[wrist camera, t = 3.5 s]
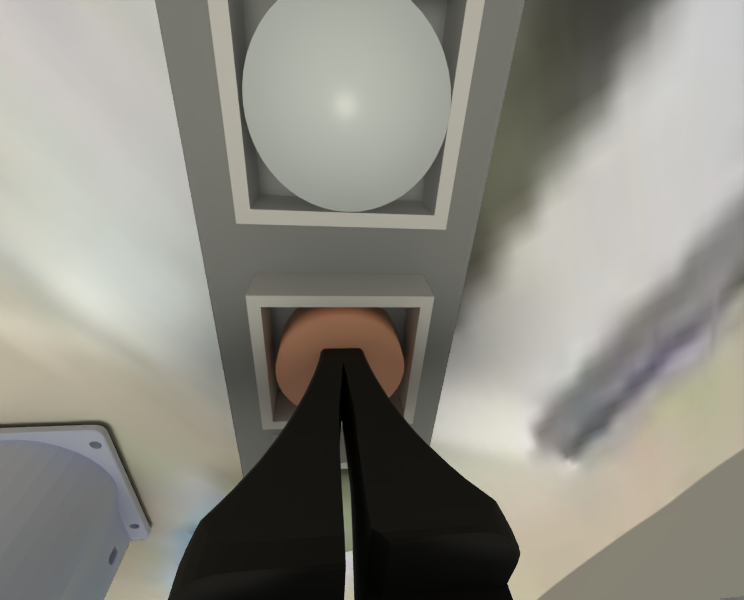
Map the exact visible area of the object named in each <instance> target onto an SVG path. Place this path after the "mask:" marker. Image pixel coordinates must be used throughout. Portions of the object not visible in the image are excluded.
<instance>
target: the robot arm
mask: <svg viewBox="0 0 744 600" xmlns="http://www.w3.org/2000/svg"><path fill="white" fill-rule="evenodd" d="M341 422H342V427H343V435H344V443H345V451H346V459H347V466H348V474H349V482H350V493H351V515H352V542H353V570H354V600H513V599H512V596H511V593H510V590H509V588H508V585H507V583H508V581H509V579H510V577H511V575H512V573H513V571H514V569H515V567H516V565H517V563H518V560H519V557H520V550H519V546H518V544H517V541H516V539H515V536H514V534H513V532H512V530H511V528H510V526H509V524H508V522H507V520H506V518H505V516H504V515H503V513H502V511H501V509H500V508H499V506H498V504H497V502H496V501H495V500H494V499H492V498H491V497H490V496H488V495H487V494H486V493H484V492H483V491H481V490H480V489H479V488H477V487H476V486H475V485H473V484H472V483H471V482H469V481H468V480H467V479H465V478H464V477H463V476H462V475H460V474H459V473H458V472H457V471H456V470H455V469H453V468H452V467H451V466H450V465H449V464H448V463H447V462H446V461H445V460H443V459H442V458H441V457H440V456H439V455H438V454H437V453H436V452H435V451H434V450H433V449H432V448H431V447H430V446H429V445H428V444H427V443H426V442H425V441H424V440H423V439H422V438H421V437H420V436H419V435H418V434H417V433H416V432H415V430H414V429H413V428H412V427H411V426H410V425H409V423H408V422H407V421H406V420H405V419H404V417H403V416H402V415H401V414H400V412H399V411H398V410H397V408H396V407H395V406H394V404H393V403H392V401H391V400H390V399H389V397H388V396H387V394H386V393H385V391H384V390H383V388H382V386H381V385H380V383H379V382H378V380H377V378H376V377H375V375H374V373H373V371H372V369H371V367H370V365H369V363H368V361H367V359H366V357H365V355H364V352H363V350H362V349H361V348H326V349H323V350H322V351H321V353H320V358H319V361H318V364H317V367H316V370H315V372H314V375H313V377H312V379H311V381H310V383H309V386H308V388H307V390H306V392H305V394H304V396H303V397H302V399H301V401H300V403H299V404H298V406H297V408H296V410H295V411H294V413H293V415H292V416H291V418H290V420H289V421H288V423H287V424H286V426H285V427H284V428H283V430H282V431H281V433H280V434H279V436H278V437H277V438H276V440H275V441H274V442H273V444H272V445H271V446H270V448H269V449H268V450H267V451H266V453H265V454H264V455H263V456H262V458H261V459H260V460H259V461H258V462H257V464H256V465H255V466H254V467H253V468H252V469H251V470H250V471H249V472H248V474H247V475H246V476H245V477H244V478H243V479H242V480H241V481H240V482H239V484H238V485H237V486H236V487H235V488H234V489H233V490H232V491H231V492H230V493H229V494H228V495H227V496H226V497H225V498H224V499H223V500H222V501H221V502H220V503H219V504H218V505H216V506H215V507H214V508H213V509H212V510H211V511H210V512H209V513H208V514H207V515H206V516H205V517H204V518H203V519H202V520H201V521H200V523H199V525H198V526H197V528H196V530H195V532H194V534H193V536H192V538H191V540H190V542H189V544H188V546H187V548H186V550H185V553H184V555H183V557H182V560H181V562H180V564H179V567H178V570H177V573H176V576H175V579H174V582H173V585H172V589H171V592H170V595H169V598H168V600H344V591H345V572H346V560H345V532H344V516H343V499H342V481H341V461H340V436H341ZM150 531H151V529H150V526H149V524H148V522H147V519H146V517H145V515H144V513H143V510H142V508H141V506H140V504H139V501H138V499H137V497H136V495H135V492H134V490H133V488H132V485H131V483H130V481H129V479H128V476H127V474H126V472H125V470H124V467H123V465H122V463H121V461H120V458H119V456H118V454H117V451H116V449H115V447H114V445H113V442H112V440H111V438H110V436H109V433H108V431H107V430H106V429H105V428H104V427H102V426H100V425H71V426H43V427H15V428H0V600H104V599H105V596H106V594H107V592H108V590H109V587H110V585H111V583H112V581H113V578H114V576H115V574H116V572H117V570H118V567H119V565H120V563H121V561H122V558H123V556H124V554H125V552H126V550H127V547H128V545H129V543H130V541H132V540H143V539H146V538H147V537H148V536H149V534H150ZM717 600H744V596H740V597H731V598H722V599H717Z"/></svg>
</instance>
